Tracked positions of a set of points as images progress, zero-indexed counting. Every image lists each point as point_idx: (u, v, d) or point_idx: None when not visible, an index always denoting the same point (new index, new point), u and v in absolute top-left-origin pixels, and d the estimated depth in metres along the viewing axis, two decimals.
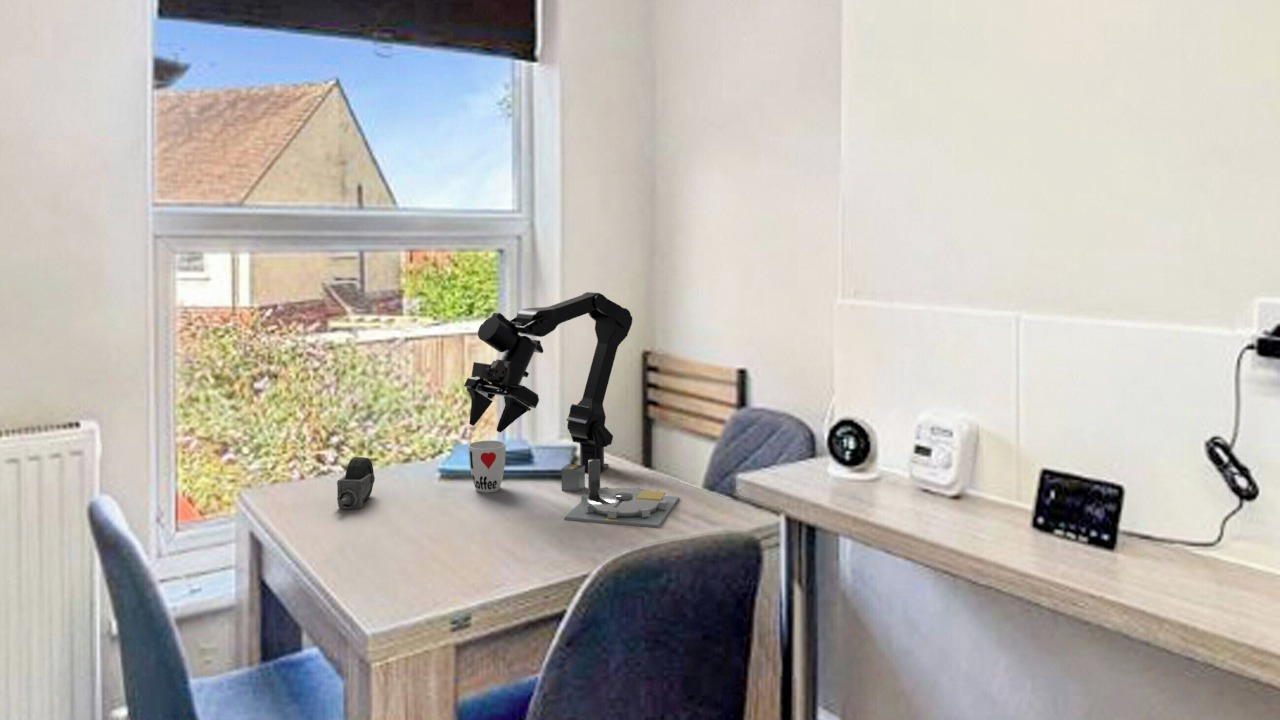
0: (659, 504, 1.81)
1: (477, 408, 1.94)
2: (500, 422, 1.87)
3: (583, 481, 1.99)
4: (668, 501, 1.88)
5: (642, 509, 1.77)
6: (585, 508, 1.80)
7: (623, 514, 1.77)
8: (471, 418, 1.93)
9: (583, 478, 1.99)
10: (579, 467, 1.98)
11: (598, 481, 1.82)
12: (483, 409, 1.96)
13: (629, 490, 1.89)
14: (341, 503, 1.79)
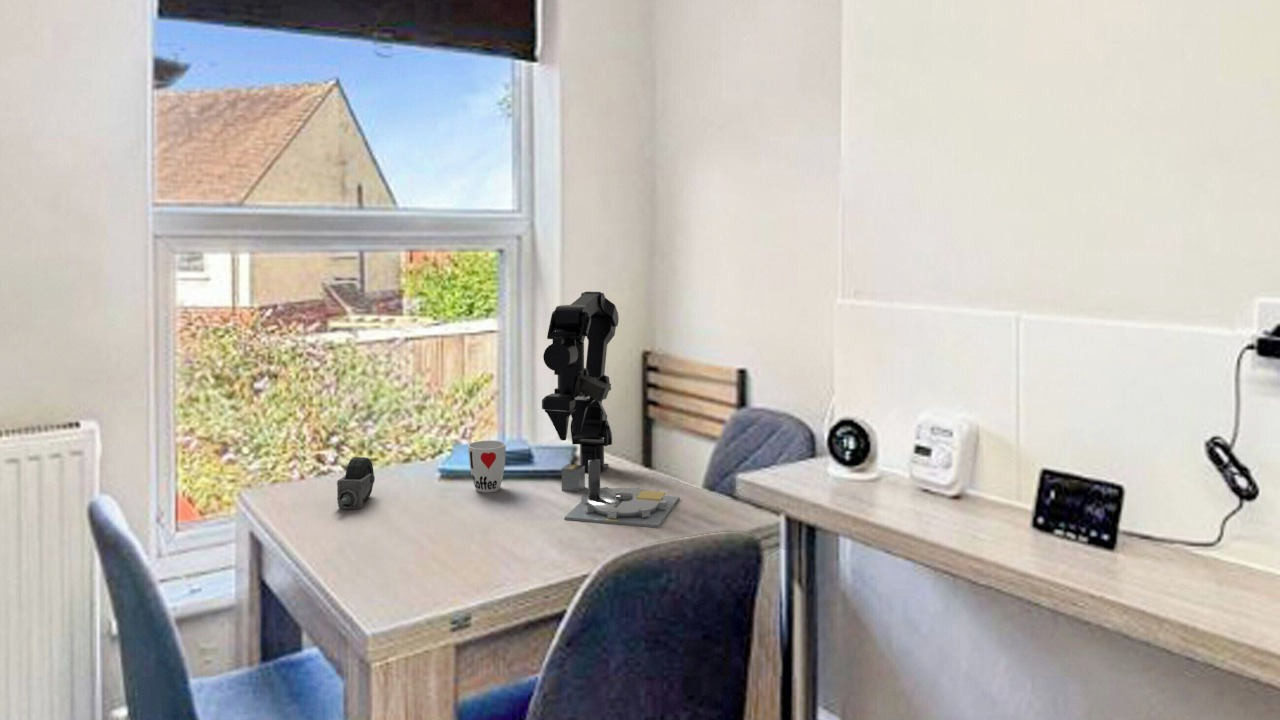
0: (659, 504, 1.81)
1: None
2: (582, 423, 2.01)
3: (583, 481, 1.99)
4: (668, 501, 1.88)
5: (642, 509, 1.77)
6: (585, 508, 1.80)
7: (623, 514, 1.77)
8: (566, 434, 1.92)
9: (583, 478, 1.99)
10: (579, 467, 1.98)
11: (598, 481, 1.82)
12: None
13: (629, 490, 1.89)
14: (341, 503, 1.79)
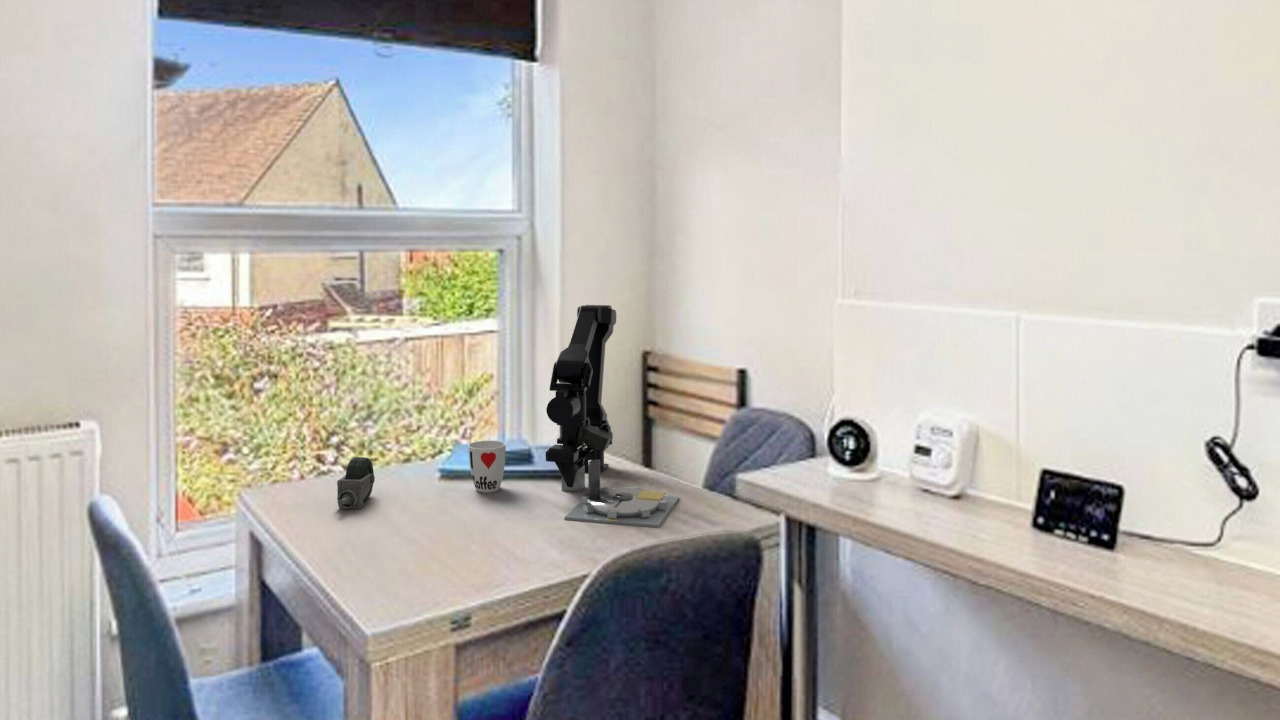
0: (659, 504, 1.81)
1: None
2: None
3: (583, 481, 1.99)
4: (668, 501, 1.88)
5: (642, 509, 1.77)
6: (585, 508, 1.80)
7: (623, 514, 1.77)
8: (573, 481, 1.96)
9: (583, 478, 1.99)
10: (579, 467, 1.98)
11: (598, 481, 1.82)
12: None
13: (629, 490, 1.89)
14: (341, 503, 1.79)
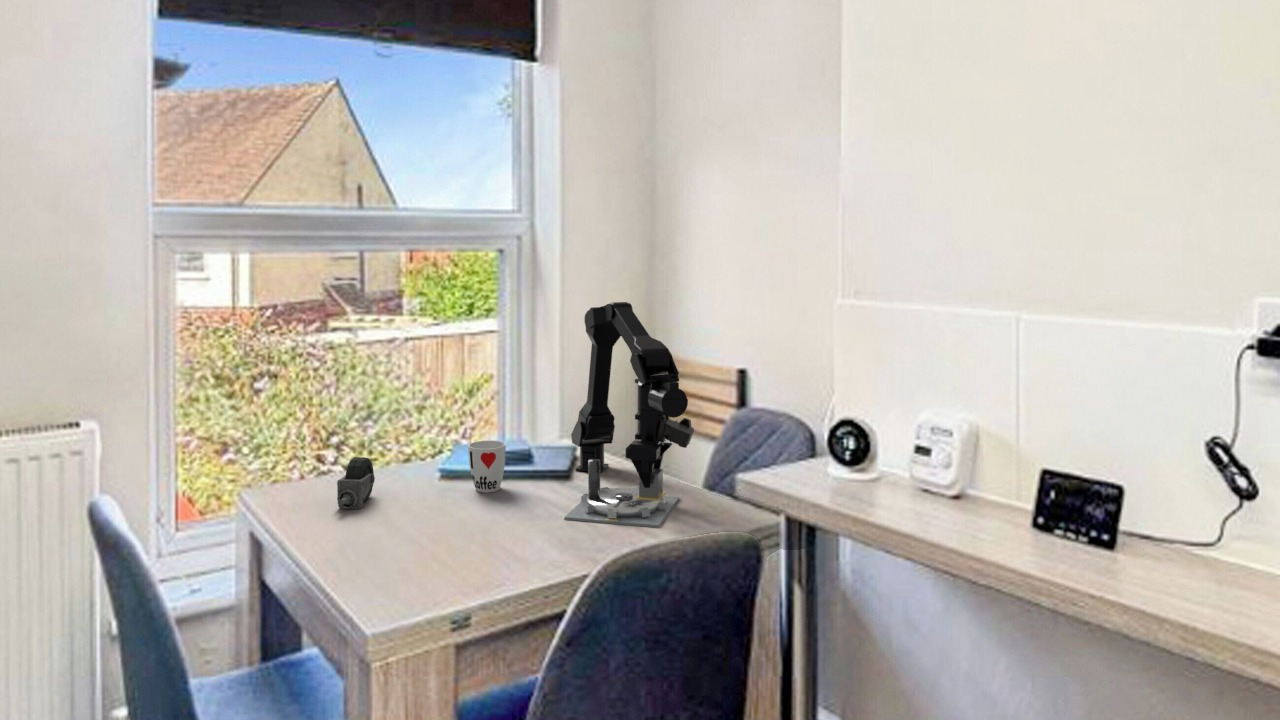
0: (659, 504, 1.81)
1: None
2: None
3: (661, 486, 1.86)
4: (668, 501, 1.88)
5: (642, 509, 1.77)
6: (585, 508, 1.80)
7: (623, 514, 1.77)
8: (650, 482, 1.82)
9: (661, 483, 1.86)
10: (657, 471, 1.85)
11: (598, 481, 1.82)
12: None
13: (629, 490, 1.89)
14: (341, 503, 1.79)
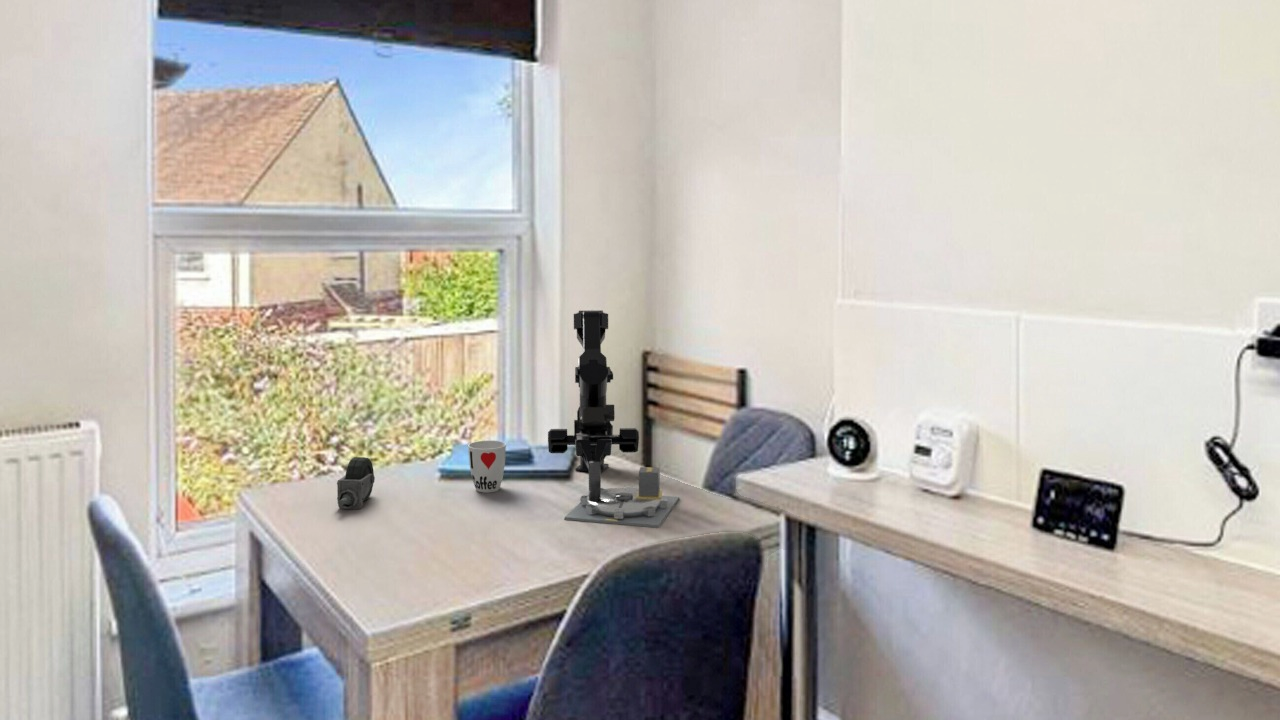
0: (661, 502, 1.82)
1: None
2: None
3: (659, 485, 1.87)
4: (668, 501, 1.88)
5: (647, 508, 1.77)
6: (589, 510, 1.79)
7: (629, 514, 1.77)
8: None
9: (659, 481, 1.87)
10: (656, 470, 1.86)
11: (599, 482, 1.82)
12: None
13: (625, 490, 1.89)
14: (341, 503, 1.79)
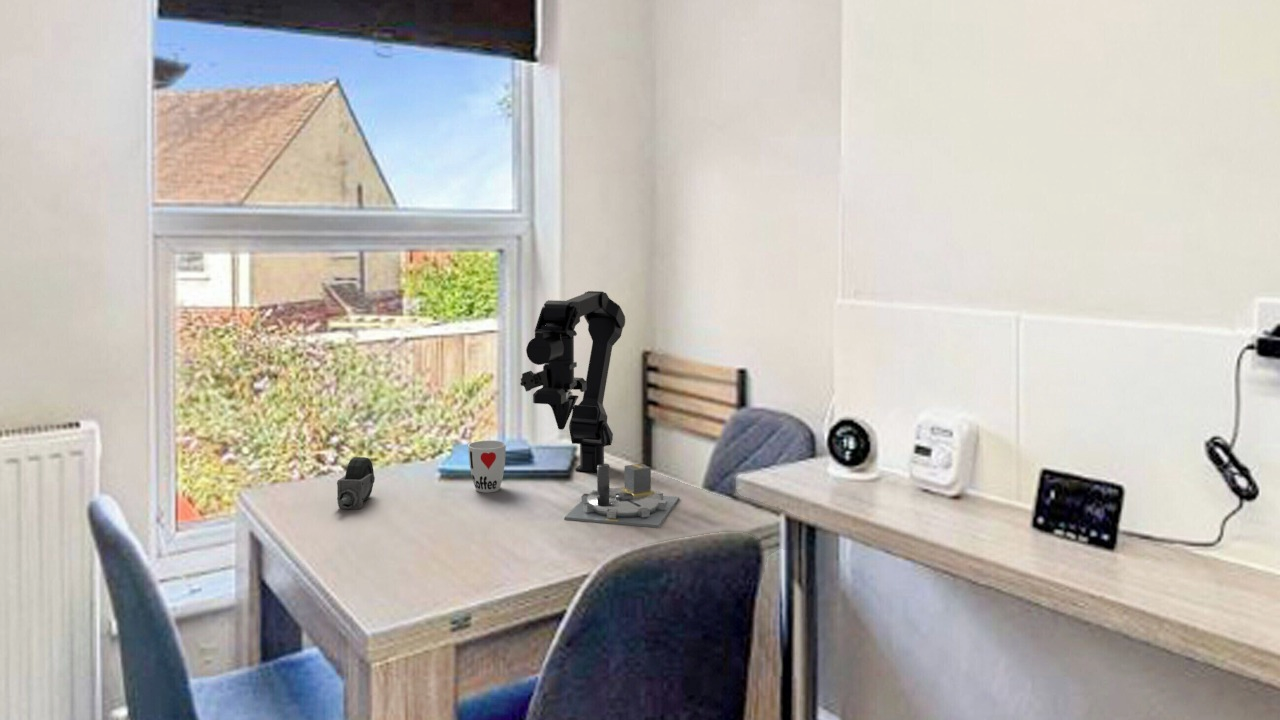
0: None
1: None
2: None
3: None
4: (668, 501, 1.88)
5: (662, 502, 1.81)
6: (611, 514, 1.76)
7: (650, 511, 1.79)
8: None
9: None
10: (643, 465, 1.89)
11: None
12: None
13: (611, 491, 1.88)
14: (341, 503, 1.79)
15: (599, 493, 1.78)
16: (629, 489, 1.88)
